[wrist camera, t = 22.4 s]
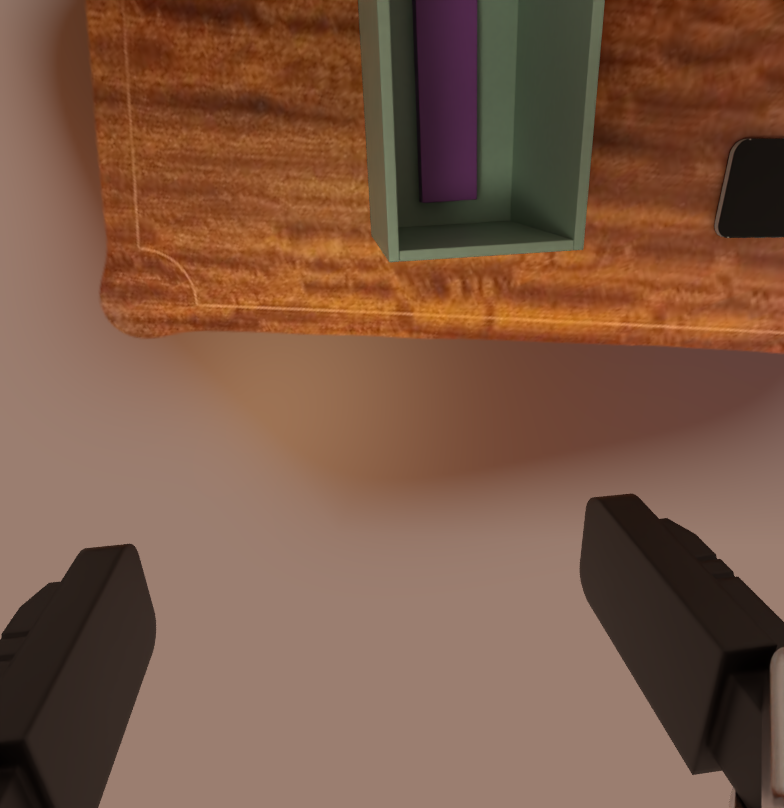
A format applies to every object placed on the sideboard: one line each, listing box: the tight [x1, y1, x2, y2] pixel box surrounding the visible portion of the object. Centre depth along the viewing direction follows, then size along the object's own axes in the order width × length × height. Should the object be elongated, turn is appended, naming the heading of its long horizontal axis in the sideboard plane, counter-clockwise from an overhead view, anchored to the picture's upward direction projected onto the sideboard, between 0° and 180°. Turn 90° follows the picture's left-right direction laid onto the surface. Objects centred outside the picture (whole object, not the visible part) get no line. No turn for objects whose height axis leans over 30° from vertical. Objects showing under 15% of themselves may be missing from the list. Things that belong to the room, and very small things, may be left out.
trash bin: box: [358, 0, 605, 262], centre depth 33 cm, size 11×25×13 cm, turn 3°
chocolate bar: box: [412, 0, 477, 203], centre depth 37 cm, size 20×4×1 cm, turn 3°
